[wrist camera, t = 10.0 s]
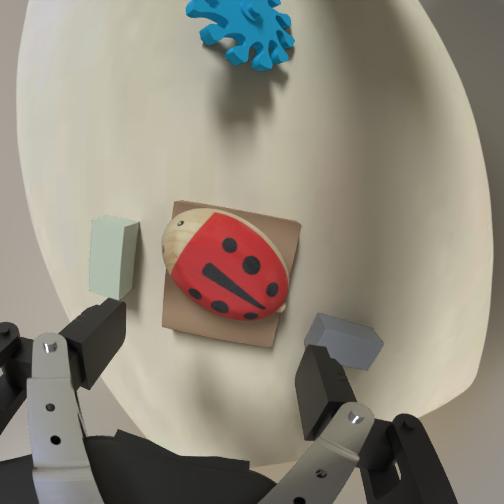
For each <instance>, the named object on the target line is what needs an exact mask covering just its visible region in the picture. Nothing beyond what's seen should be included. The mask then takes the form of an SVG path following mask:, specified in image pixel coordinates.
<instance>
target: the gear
mask: <svg viewBox="0 0 504 504" xmlns="http://www.w3.org/2000/svg"><path fill="white" fill-rule="evenodd" d="M206 2H207V3H208V4H209V5H210V6H209V5H208V4H207V3H206ZM280 4H281V2H280V0H205V1H204V0H192V1H190V2H189V3H188V4H187V6H186V15H187V16H189V17H191V18H198V17H203V18H207V19H210V20H212V21H214V22H216V23H218V24H210V25H208V26H206V27H205V28H203V29H202V30H201V31H200V35H201V36H200V37H201V40H202V41H203V42H205V44H206V45H213V44H214V43H216V42H218V41H219V40H221V39H222V38H223V37H229V38H234V39H235V40H236V41H237V43H238V46H235V47H233V48H231V49H229V50H227V51H226V52H225V57H226V58H227V59H228V60H229V61H230V62H231V63H232V64H234V65H235V66H237V65H240V64H242V63H244V62H246V61H247V60H248V58H249V55H248V53H249V49H250V47H251V46H252V47H253V48H254V49H255V50H256V56H255V57H254V58H253V59H252V60H251V66H252V68H254V69H255V70H258V71H266V70H269V69H272V66H273V65H272V64H279V63H282V62H285V61H287V60H289V57H288V55H287V53H286V52H285V51H284V49H287V48H290V47H292V46H293V44H294V41H295V40H294V38H293V37H292V36H291V35H290V34H288V33H286V32H285V31H284V30H283V29H284V28H287V27H290V26H291V19H290V17H289V16H288V15H287V14H281V13H279V12H277V11H276V10H274V9H273V7H276V6H278V5H280ZM268 47H269V49H270V55H269V52H268Z"/></svg>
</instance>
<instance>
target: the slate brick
mask: <svg viewBox="0 0 504 504" xmlns="http://www.w3.org/2000/svg"><path fill="white" fill-rule="evenodd" d="M304 342H305V346H306V347H307V346H308V345H309V344H312V345H319V346H325V347H326V348H327V350H328V353H329V355H330V358H334V359H336V360H337V361H338V362H339V363H340V364H341V365H342V366H346V367H351V368H356V369H362V370H367V371H368V369H369V368H370V366H371V364H372V363H373V361H374V360H375V358H376V357H377V355H378V353H379V352H380V350H381V348H382V347H383V345H384V342H383V341H382V340H381V338H380V337H379V336H378V334H377V333H376V332H375V331H374V329H373V328H370V327H366V326H363V325H359V324H356V323H352V322H349V321H345V320H342V319H338V318H335V317H332V316H328V315H325V314H322V313H318V314H317V316H316V318H315V320H314V322H313V324H312V326H311V328H310V330H309V332H308V334H307V336H306V338H305V340H304Z"/></svg>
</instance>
